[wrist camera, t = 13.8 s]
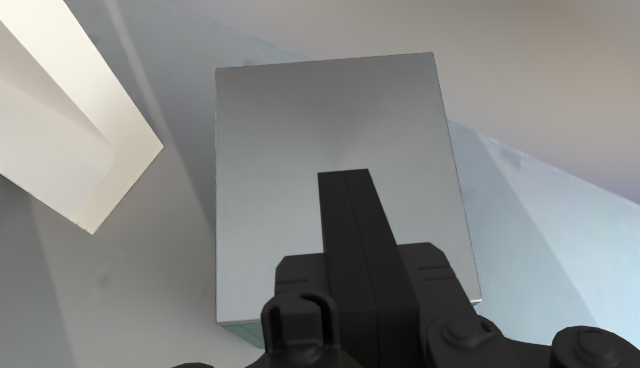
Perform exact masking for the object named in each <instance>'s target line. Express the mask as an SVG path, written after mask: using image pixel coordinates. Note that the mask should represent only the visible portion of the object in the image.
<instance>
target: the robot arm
mask: <svg viewBox="0 0 640 368" xmlns="http://www.w3.org/2000/svg"><path fill="white" fill-rule="evenodd" d="M317 177H318V189H319V202H320V215H321V228H322V240H323V253H313V254H301V255H290V256H284V258H283V259H282V260H281V262H280V263H279V264H278V266H277V267H276V269H275V286H274V297H272V298H271V299H270V300H269V301H268V302H267V303H266V304H265V305H264V306H263V309H262V311H261V314H260V317H261V324H262V331H263V338H264V345H265V353H264V354H263V355H262V356H261V357H260V358H259V359H258V360H257V361H255V362H254V363H252V364H251V365H249V366H247V367H245V368H640V350H639V349H637V348H636V347H635V346H633V345H632V344H631V343H630V342H628V341H626V340H625V339H623V338H621V337H620V336H618V335H616V334H615V333H612V332H609V331H606V330H603V329H600V328H597V327H589V326H574V327H567V328H565V329H563V330H561V331H559V332H557V334H556V335H555V337H554V339H553V341H552V346H547V345H539V344H532V343H525V342H520V341H515V340H511V339H509V338H506V337H504V336H503V334H502V332H501V331H500V330H499V329H498V327H497V326H496V325H495V324H494V323H493V322H492V321H490V320H488V319H486V318H484V317H483V316H481V315H477V313H476V311H475V310H474V308H473V306H472V304H471V302H470V300H469V298H468V296H467V295H466V293H465V291H464V289H463V287H462V285H461V283H460V282H459V280H458V278H456V274H455V272H454V270H453V268H452V267H451V265H450V263H449V261H448V259H447V257H446V255H445V254H444V252H443V251H442V250H440V249H439V248H437V247H436V246H434V245H433V244H432V243H430V242H422V243H411V244H399V245H397V243H396V240H395V238H394V235H393V233H392V230H391V227H390V225H389V222H388V219H387V217H386V214H385V212H384V209H383V206H382V204H381V201H380V198H379V196H378V193H377V190H376V188H375V185H374V183H373V180H372V177H371V175H370V172H369V169H368V168H366V169H354V170H342V171H330V172H318V173H317ZM172 368H214V367H213V366H211V365H207V364H203V363H184V364H181V365H178V366H175V367H172Z"/></svg>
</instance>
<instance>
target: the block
mask: <svg viewBox="0 0 640 368" xmlns="http://www.w3.org/2000/svg"><path fill="white" fill-rule="evenodd" d="M163 147H164V146H163V145H162V143H161V142H160V141H159V139H158V138H157V136H156V135H155V133H154V132H153V130H152V129H151V127H150V126H149V125H148V123H147V122H146V120H145V119H144V117H143V116H142V114H141V113H140V112H139V110H138V109H137V107H136V106H135V104H134V103H133V101H132V100H131V98H130V97H129V96H128V94H127V93H126V91H125V90H124V88H123V87H122V85H121V84H120V82H119V81H118V80H117V78H116V77H115V75H114V74H113V72H112V71H111V69H110V68H109V66H108V65H107V64H106V62H105V61H104V59H103V58H102V56H101V55H100V53H99V52H98V50H97V49H96V48H95V46H94V45H93V43H92V42H91V40H90V39H89V37H88V36H87V34H86V33H85V32H84V30H83V29H82V27H81V26H80V24H79V23H78V21H77V20H76V18H75V17H74V16H73V14H72V13H71V11H70V10H69V8H68V7H67V5H66V4H65V2H64V1H63V0H0V174H2V175H3V176H5V177H6V178H8V179H9V180H11V181H12V182H14V183H15V184H17V185H18V186H20V187H21V188H23V189H24V190H26V191H27V192H29V193H30V194H32V195H33V196H35V197H36V198H38V199H39V200H40V201H42V202H43V203H45V204H46V205H48V206H49V207H51V208H52V209H54V210H55V211H57V212H58V213H60V214H61V215H63V216H64V217H66V218H67V219H69V220H70V221H72V222H73V223H75V224H77V225H78V226H80V227H81V228H83V229H84V230H86V231H87V232H89V233H90V234H92V235H93V234H94V232H95V231H96V230H97V229H98V228H99V226H100V225H101V224H102V223H103V221H104V220H105V219H106V218H107V216H108V215H109V214H110V213H111V212H112V210H113V209H114V208H115V207H116V205H117V204H118V203H119V202H120V200H121V199H122V198H123V197H124V196H125V194H126V193H127V192H128V191H129V189H130V188H131V187H132V186H133V184H134V183H135V182H136V181H137V180H138V178H139V177H140V176H141V175H142V173H143V172H144V171H145V170H146V168H147V167H148V166H149V165H150V163H151V162H152V161H153V160H154V159H155V157H156V156H157V155H158V154H159V152H160V151H161V150H162V149H163Z"/></svg>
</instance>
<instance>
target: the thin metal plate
mask: <svg viewBox="0 0 640 368" xmlns="http://www.w3.org/2000/svg"><path fill="white" fill-rule="evenodd" d="M366 168H368V169H369V172H370V175H371V177H372V180H373V183H374V185H375V188H376V190H377V193H378V196H379V198H380V201H381V204H382V206H383V209H384V212H385V214H386V217H387V219H388V222H389V225H390V227H391V230H392V233H393V235H394V238H395V240H396V243H397V245H399V244H411V243H422V242H430V243H432V244H433V245H434V246H436V247H437V248H439V249H440V250H442V251H443V252H444V254H445V255H446V257H447V259H448V261H449V263H450V265H451V267H452V268H453V270H454V272H455V274H456V278H458V280H459V282H460V283H461V285H462V287H463V289H464V291H465V293H466V295H467V296H468V298H469V300H470V302H471V304H472V305H473V304H477V303H479V302H481V301H482V295H481V290H480V285H479V280H478V275H477V270H476V265H475V260H474V255H473V250H472V245H471V240H470V235H469V230H468V225H467V220H466V215H465V210H464V205H463V200H462V195H461V190H460V185H459V180H458V175H457V170H456V165H455V160H454V155H453V150H452V145H451V140H450V135H449V130H448V125H447V120H446V115H445V110H444V105H443V100H442V95H441V90H440V85H439V80H438V75H437V70H436V65H435V60H434V55H433V52H426V53H413V54H400V55H387V56H374V57H361V58H348V59H335V60H322V61H309V62H296V63H283V64H270V65H256V66H243V67H230V68H217V69H216V70H215V276H216V323H217V324H218V325H220V326H224V325H235V324H247V323H259V322H261V317H260V314H261V311H262V309H263V306H264V305H265V304H266V303H267V302H268V301H269V300H270V299H271V298H272V297H274V286H275V269H276V267H277V266H278V264H279V263H280V262H281V260H282V259H283V258H284V256H290V255H301V254H313V253H323V240H322V228H321V215H320V202H319V189H318V177H317V173H318V172H330V171H342V170H354V169H366Z"/></svg>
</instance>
